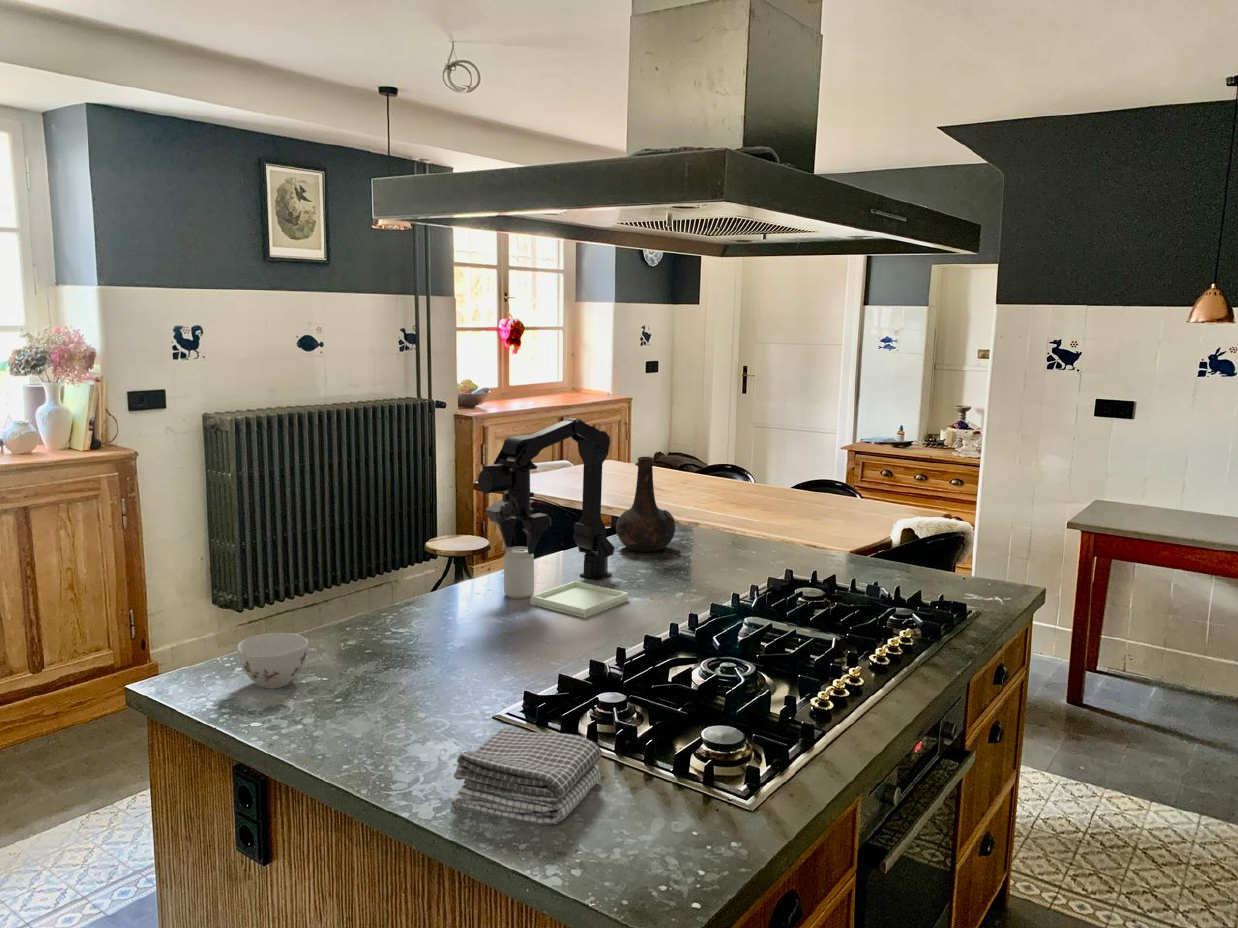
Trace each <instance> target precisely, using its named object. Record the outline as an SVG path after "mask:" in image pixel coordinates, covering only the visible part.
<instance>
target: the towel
mask: <svg viewBox="0 0 1238 928" xmlns="http://www.w3.org/2000/svg"><path fill="white" fill-rule="evenodd" d="M602 756H603V752H602V750H601V748H600V746H599V745H597V743H596V742H595V741H593V740H590V739H588V738H586V737H584V736H582V735H579V734H571V733H563V732H536V731H533V732H532V731H525V730H519V729H513V728H511V727H510V728H507V727H506V728H503V729H502V728H501V730H500V731H498V732H497V733H496V734H494V735H492V737H490V738H489V739H488V740H487V741H485V742H484V743H483V744H482V745H481V746H480V747H478V748H477V749H476V750H475V751H472V750H471V751H470V750H469V751H465V752H464V751H463V752H460V753H459V755H458V756H457V759H456V762H457V764H458V765H457V766H456V770H455V772H454V773H453V778H454V779H456V780H458V781H460V780H463V784H462V785H461V787H459V788H458V789H457V790H456V791H457V792H455V794H454V795H453V797H452V798H451V802H450V804H451V806H452V807H453V808H455V809H462V810H465V811H469V812H470V811H471V812H476V813H481V814H484V815H489V816H494V817H498V818H499V817H500V818H504V819H509V820H514V821H519V822H524V823H531V824H535V825H539V826H545V825H547V826H548V825H551V826H552V825H557V824H559V823H560V822H561V821H562V820H564V819H566V817H567V816H568V815H570V813H572V811H573V810H574V809H575V808H576V807H577V805H579V804H580V802H581V801H582V800H583V799H584V798H585V797H586V796H587V794H588V793H589V792H590V791H591V789H592V788H593V787H595V785H596V784H597V783H598V782H600V780H601V777H602V776H601V772H600V768H599V766H598V765H597V763H598V761H600V759H601V758H602Z"/></svg>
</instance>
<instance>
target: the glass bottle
mask: <svg viewBox="0 0 1238 928" xmlns="http://www.w3.org/2000/svg"><path fill="white" fill-rule="evenodd" d="M653 460H654V458H653V457H652V456H639V457H637V461H638V462H636V463H634V465H635V466H637V474H636V475H637V477H636V486H635V494H634V498H633V504H632V505H631V507H630V508H629V509H627V510H626V511H624V512H622V514H621V515H620V516H619V517H618V518H617V520H616V524H615V531H616V534H617V537H618V539H619V540H620V542H621V543H622V544H623V546H625V547H626V548H627V549H630V550H632V551H636V552H641V553H650V552H658V551H659V550H660V551H661V550H662V549H665V548H666V547H667V546H668V545H669V544H670V543H671V542H672V540H673V538H674V536H675V534H676V533H675V532H676V523H675V521H676V520H675V518H674V516H673V515H672V514H671V513H670V512H669V511H668V510H666V509H660V508H659V507H658V505H657V503H656V497H655V489H654V475H653V472H654V470H653V467H654V466H656V463H655V462H653Z"/></svg>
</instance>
